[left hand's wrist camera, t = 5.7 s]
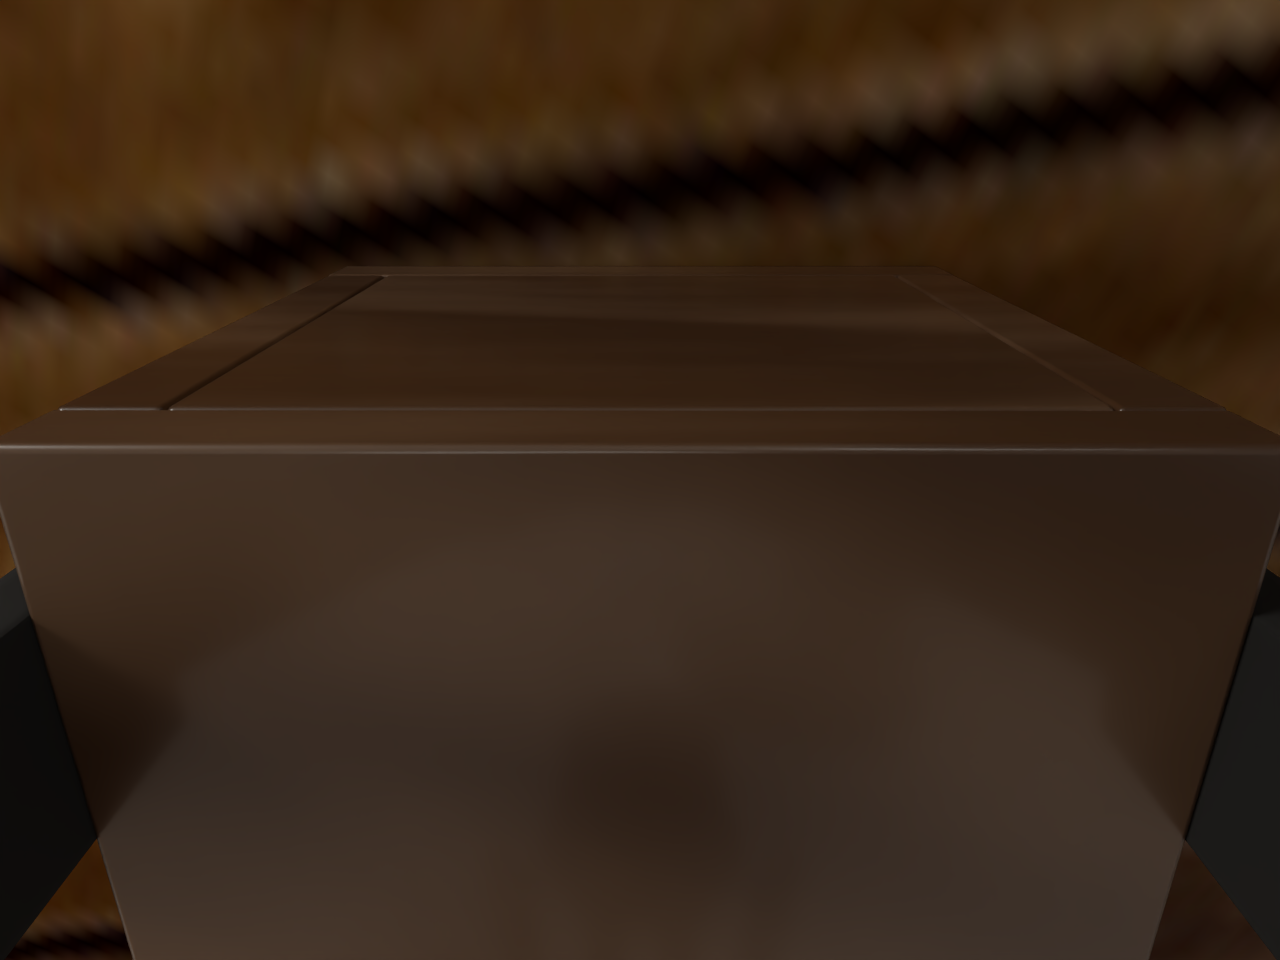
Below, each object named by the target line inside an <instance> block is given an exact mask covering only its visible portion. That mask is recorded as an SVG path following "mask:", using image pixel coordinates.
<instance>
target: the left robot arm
mask: <svg viewBox="0 0 1280 960" xmlns="http://www.w3.org/2000/svg"><path fill="white" fill-rule="evenodd" d="M96 839H97V837H96V834H95V830H94V827H93V824H92V820H91V817H90V814H89V810H88V807H87V804H86V800H85V797H84V794H83V790H82V787H81V784H80V780H79V777H78V774H77V770H76V767H75V764H74V760H73V757H72V754H71V750H70V747H69V744H68V740H67V737H66V734H65V730H64V727H63V723H62V720H61V717H60V713H59V710H58V707H57V703H56V700H55V697H54V693H53V690H52V687H51V683H50V680H49V677H48V673H47V670H46V667H45V663H44V660H43V657H42V653H41V650H40V647H39V643H38V640H37V637H36V633H35V630H34V627H33V623H32V620H31V617H30V613H29V610H28V607H27V603H26V600H25V597H24V593H23V590H22V587H21V583H20V580H19V577H18V573H17V570H16V568H15V569H13V570H12V571H10V572H9V573H8V574H6V575H5V576H3V577H2V578H1V579H0V960H4V959H5V958H6V957H7V955H8V954H9V953H10V952H11V950H12V949H13V948H14V946H15V945H16V944H17V942H18V941H19V940H20V938H21V937H22V936H23V934H24V933H25V932H26V931H27V929H28V928H29V927H30V925H31V924H32V923H33V921H34V920H35V919H36V917H37V916H38V915H39V913H40V912H41V911H42V910H43V908H44V907H45V906H46V904H47V903H48V902H49V900H50V899H51V898H52V896H53V895H54V894H55V892H56V891H57V890H58V889H59V887H60V886H61V885H62V883H63V882H64V881H65V879H66V878H67V877H68V875H69V874H70V873H71V871H72V870H73V869H74V868H75V866H76V865H77V864H78V862H79V861H80V860H81V858H82V857H83V856H84V854H85V853H86V852H87V850H88V849H89V848H90V846H91V845H92V844H93V843H94V841H95V840H96ZM1185 840H1186V841H1187V842H1188V844H1189V845H1190V846H1191V848H1192V849H1193V850H1194V852H1195V853H1196V854H1197V856H1198V857H1199V858H1200V860H1201V861H1202V862H1203V863H1204V865H1205V866H1206V867H1207V869H1208V870H1209V871H1210V873H1211V874H1212V875H1213V877H1214V878H1215V879H1216V881H1217V882H1218V883H1219V885H1220V886H1221V887H1222V888H1223V890H1224V891H1225V892H1226V894H1227V895H1228V896H1229V898H1230V899H1231V900H1232V902H1233V903H1234V904H1235V906H1236V907H1237V908H1238V909H1239V911H1240V912H1241V913H1242V915H1243V916H1244V917H1245V919H1246V920H1247V921H1248V923H1249V924H1250V925H1251V927H1252V928H1253V929H1254V930H1255V932H1256V933H1257V934H1258V936H1259V937H1260V938H1261V940H1262V941H1263V942H1264V944H1265V945H1266V946H1267V948H1268V949H1269V950H1270V951H1271V953H1272V954H1273V955H1274V957H1275V958H1276V959H1277V960H1280V578H1279V577H1278V576H1276V575H1275V574H1273V573H1272V572H1271V571H1269V570H1268V569H1266V572H1265V575H1264V578H1263V582H1262V585H1261V588H1260V592H1259V595H1258V598H1257V602H1256V605H1255V608H1254V612H1253V615H1252V618H1251V622H1250V625H1249V628H1248V632H1247V635H1246V638H1245V642H1244V645H1243V648H1242V652H1241V655H1240V658H1239V662H1238V665H1237V668H1236V672H1235V675H1234V678H1233V682H1232V685H1231V688H1230V692H1229V695H1228V698H1227V702H1226V705H1225V708H1224V712H1223V715H1222V718H1221V722H1220V725H1219V728H1218V732H1217V735H1216V738H1215V742H1214V745H1213V748H1212V752H1211V755H1210V758H1209V762H1208V765H1207V768H1206V772H1205V775H1204V778H1203V782H1202V785H1201V788H1200V791H1199V795H1198V798H1197V801H1196V805H1195V808H1194V811H1193V815H1192V818H1191V821H1190V825H1189V828H1188V831H1187V835H1186V838H1185Z"/></svg>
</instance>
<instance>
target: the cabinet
mask: <svg viewBox="0 0 1280 960" xmlns="http://www.w3.org/2000/svg"><path fill="white" fill-rule="evenodd" d="M0 516H1V520H2V523H3V526H4V530H5V533H6V536H7V540H8V543H9V546H10V550H11V553H12V556H13V560H14V563H15V567H16V570H17V573H18V577H19V580H20V583H21V587H22V590H23V593H24V597H25V600H26V603H27V607H28V610H29V613H30V617H31V620H32V623H33V627H34V630H35V633H36V637H37V640H38V643H39V647H40V650H41V653H42V657H43V660H44V663H45V667H46V670H47V673H48V677H49V680H50V683H51V687H52V690H53V693H54V697H55V700H56V703H57V707H58V710H59V713H60V717H61V720H62V723H63V727H64V730H65V734H66V737H67V740H68V744H69V747H70V750H71V754H72V757H73V760H74V764H75V767H76V770H77V774H78V777H79V780H80V784H81V787H82V790H83V794H84V797H85V800H86V804H87V807H88V810H89V814H90V817H91V820H92V824H93V827H94V830H95V834H96V837H97V840H98V844H99V847H100V850H101V854H102V857H103V860H104V864H105V867H106V870H107V874H108V877H109V880H110V884H111V887H112V891H113V894H114V897H115V901H116V904H117V907H118V911H119V914H120V917H121V921H122V924H123V927H124V931H125V934H126V937H127V941H128V944H129V947H130V951H131V954H132V957H133V960H1149V958H1150V955H1151V951H1152V948H1153V945H1154V941H1155V938H1156V935H1157V931H1158V928H1159V925H1160V921H1161V918H1162V915H1163V911H1164V908H1165V905H1166V901H1167V898H1168V895H1169V891H1170V888H1171V885H1172V881H1173V878H1174V875H1175V871H1176V868H1177V865H1178V861H1179V858H1180V855H1181V851H1182V848H1183V845H1184V841H1185V838H1186V835H1187V831H1188V828H1189V825H1190V821H1191V818H1192V815H1193V811H1194V808H1195V805H1196V801H1197V798H1198V795H1199V791H1200V788H1201V785H1202V782H1203V778H1204V775H1205V772H1206V768H1207V765H1208V762H1209V758H1210V755H1211V752H1212V748H1213V745H1214V742H1215V738H1216V735H1217V732H1218V728H1219V725H1220V722H1221V718H1222V715H1223V712H1224V708H1225V705H1226V702H1227V698H1228V695H1229V692H1230V688H1231V685H1232V682H1233V678H1234V675H1235V672H1236V668H1237V665H1238V662H1239V658H1240V655H1241V652H1242V648H1243V645H1244V642H1245V638H1246V635H1247V632H1248V628H1249V625H1250V622H1251V618H1252V615H1253V612H1254V608H1255V605H1256V602H1257V598H1258V595H1259V592H1260V588H1261V585H1262V582H1263V578H1264V575H1265V572H1266V569H1267V565H1268V562H1269V559H1270V555H1271V552H1272V549H1273V545H1274V542H1275V539H1276V535H1277V532H1278V529H1279V525H1280V436H1279V435H1277V434H1275V433H1273V432H1271V431H1269V430H1267V429H1265V428H1263V427H1261V426H1259V425H1256V424H1254V423H1252V422H1250V421H1248V420H1246V419H1244V418H1242V417H1240V416H1238V415H1236V414H1234V413H1232V412H1229V411H1226V409H1225V408H1224V407H1222V406H1220V405H1218V404H1216V403H1214V402H1212V401H1210V400H1208V399H1206V398H1204V397H1202V396H1199V395H1197V394H1195V393H1193V392H1191V391H1189V390H1187V389H1185V388H1183V387H1181V386H1179V385H1177V384H1175V383H1173V382H1171V381H1169V380H1167V379H1165V378H1163V377H1160V376H1158V375H1156V374H1154V373H1152V372H1150V371H1148V370H1146V369H1144V368H1142V367H1140V366H1138V365H1136V364H1134V363H1132V362H1130V361H1128V360H1126V359H1124V358H1122V357H1119V356H1117V355H1115V354H1113V353H1111V352H1109V351H1107V350H1105V349H1103V348H1101V347H1099V346H1097V345H1095V344H1093V343H1091V342H1089V341H1087V340H1085V339H1083V338H1080V337H1078V336H1076V335H1074V334H1072V333H1070V332H1068V331H1066V330H1064V329H1062V328H1060V327H1058V326H1056V325H1054V324H1052V323H1050V322H1048V321H1046V320H1044V319H1041V318H1039V317H1037V316H1035V315H1033V314H1031V313H1029V312H1027V311H1025V310H1023V309H1021V308H1019V307H1017V306H1015V305H1013V304H1011V303H1009V302H1007V301H1005V300H1003V299H1000V298H998V297H996V296H994V295H992V294H990V293H988V292H986V291H984V290H982V289H980V288H978V287H976V286H974V285H972V284H970V283H968V282H966V281H964V280H961V279H959V278H957V277H955V276H953V275H952V274H950V273H948V272H946V271H944V270H942V269H940V268H938V267H935V266H347V267H345V268H343V269H341V270H339V271H337V272H335V273H332V274H330V275H329V276H328V277H326V278H324V279H322V280H320V281H318V282H316V283H314V284H312V285H310V286H307V287H305V288H303V289H301V290H299V291H297V292H295V293H293V294H291V295H289V296H287V297H285V298H283V299H281V300H279V301H277V302H275V303H273V304H270V305H268V306H266V307H264V308H262V309H260V310H258V311H256V312H254V313H252V314H250V315H248V316H246V317H244V318H242V319H240V320H238V321H236V322H233V323H231V324H229V325H227V326H225V327H223V328H221V329H219V330H217V331H215V332H213V333H211V334H209V335H207V336H205V337H203V338H201V339H199V340H197V341H194V342H192V343H190V344H188V345H186V346H184V347H182V348H180V349H178V350H176V351H174V352H172V353H170V354H168V355H166V356H164V357H162V358H160V359H157V360H155V361H153V362H151V363H149V364H147V365H145V366H143V367H141V368H139V369H137V370H135V371H133V372H131V373H129V374H127V375H125V376H123V377H120V378H118V379H116V380H114V381H112V382H110V383H108V384H106V385H104V386H102V387H100V388H98V389H96V390H94V391H92V392H90V393H88V394H86V395H84V396H81V397H79V398H77V399H75V400H73V401H71V402H69V403H67V404H65V405H63V406H61V407H59V409H58V410H54V411H52V412H49V413H47V414H45V415H43V416H41V417H39V418H37V419H35V420H33V421H31V422H29V423H27V424H25V425H23V426H20V427H18V428H16V429H14V430H12V431H10V432H8V433H6V434H4V435H2V436H0Z"/></svg>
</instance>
